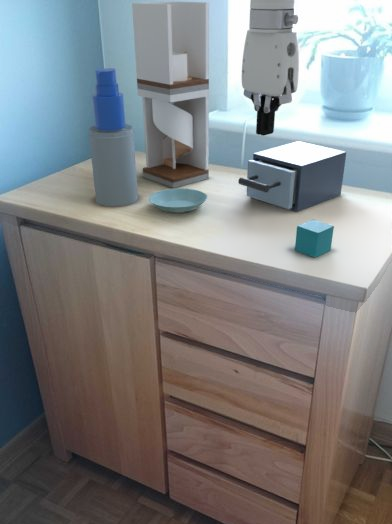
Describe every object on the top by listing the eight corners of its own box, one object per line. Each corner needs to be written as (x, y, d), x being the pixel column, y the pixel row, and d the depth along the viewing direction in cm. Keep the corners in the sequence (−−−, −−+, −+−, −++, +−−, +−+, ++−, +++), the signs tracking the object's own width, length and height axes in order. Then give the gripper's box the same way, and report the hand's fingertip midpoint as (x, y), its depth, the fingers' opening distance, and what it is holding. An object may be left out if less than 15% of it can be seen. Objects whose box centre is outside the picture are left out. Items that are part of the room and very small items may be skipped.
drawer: (271, 215, 108) (274, 177, 104) (229, 201, 115) (230, 165, 111) (329, 194, 118) (334, 158, 114) (287, 182, 125) (290, 148, 121)
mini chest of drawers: (297, 212, 112) (301, 165, 107) (251, 196, 119) (253, 153, 114) (340, 195, 120) (346, 151, 115) (294, 182, 128) (298, 141, 122)
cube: (330, 250, 96) (334, 226, 94) (315, 257, 94) (317, 233, 91) (310, 243, 99) (313, 219, 96) (294, 250, 96) (296, 225, 94)
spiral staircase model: (143, 176, 132) (132, 3, 113) (177, 168, 138) (173, 1, 118) (173, 188, 125) (167, 4, 105) (208, 178, 131) (209, 2, 111)
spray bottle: (125, 189, 124) (115, 64, 110) (145, 200, 118) (137, 69, 104) (89, 197, 120) (73, 68, 106) (107, 209, 114) (94, 74, 100)
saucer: (137, 209, 114) (136, 198, 113) (176, 194, 121) (176, 184, 120) (180, 222, 107) (179, 211, 106) (218, 206, 115) (219, 195, 113)
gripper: (320, 22, 93) (308, 137, 103) (254, 18, 102) (249, 124, 112) (291, 25, 88) (282, 144, 99) (225, 20, 98) (222, 130, 108)
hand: (264, 133), depth 105 cm, fingers closed
